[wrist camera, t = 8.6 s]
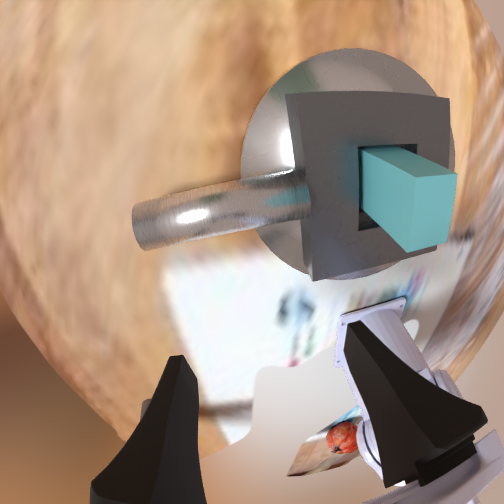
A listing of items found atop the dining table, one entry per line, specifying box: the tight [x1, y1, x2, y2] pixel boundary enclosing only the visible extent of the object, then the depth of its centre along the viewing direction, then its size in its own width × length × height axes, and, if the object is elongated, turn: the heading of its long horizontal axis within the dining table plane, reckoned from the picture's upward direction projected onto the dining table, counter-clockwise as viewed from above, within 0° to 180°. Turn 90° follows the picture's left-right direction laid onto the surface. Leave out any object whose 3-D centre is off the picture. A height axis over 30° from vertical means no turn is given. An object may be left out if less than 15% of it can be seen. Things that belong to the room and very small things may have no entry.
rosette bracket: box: [132, 49, 455, 281], centre depth 16 cm, size 18×24×4 cm
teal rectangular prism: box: [358, 145, 457, 253], centre depth 14 cm, size 4×3×7 cm
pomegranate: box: [326, 422, 358, 454], centre depth 42 cm, size 7×7×10 cm
